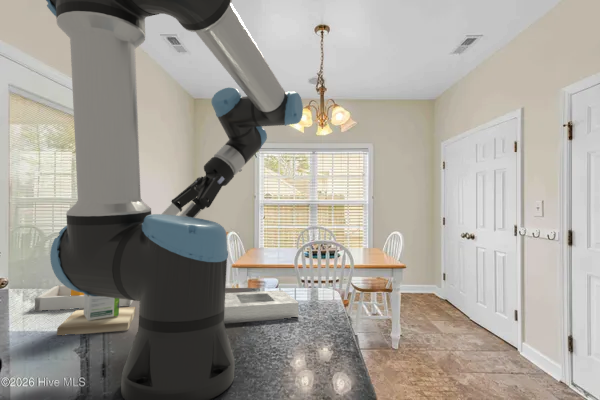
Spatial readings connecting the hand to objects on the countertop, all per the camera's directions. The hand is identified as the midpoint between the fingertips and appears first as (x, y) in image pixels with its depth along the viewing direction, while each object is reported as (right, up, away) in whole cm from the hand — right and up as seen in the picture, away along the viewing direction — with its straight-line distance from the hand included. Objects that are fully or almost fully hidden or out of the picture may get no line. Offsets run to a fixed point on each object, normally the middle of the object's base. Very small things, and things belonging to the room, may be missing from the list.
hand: (166, 226), depth 80 cm
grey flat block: (+20, -21, +3) cm, 29 cm away
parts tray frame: (-23, -20, +8) cm, 32 cm away
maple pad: (-11, -20, -8) cm, 24 cm away
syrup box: (-11, -18, -8) cm, 23 cm away
